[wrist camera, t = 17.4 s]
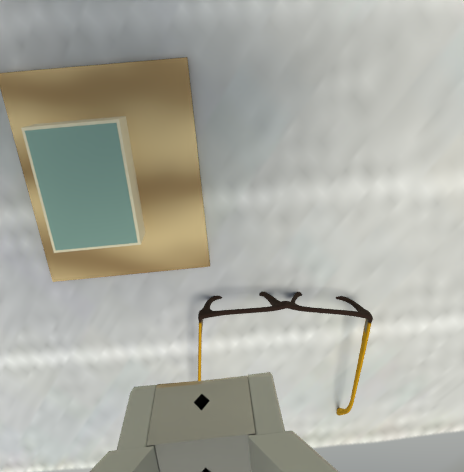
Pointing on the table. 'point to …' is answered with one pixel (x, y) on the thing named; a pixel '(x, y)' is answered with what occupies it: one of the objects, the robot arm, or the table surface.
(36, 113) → the mat
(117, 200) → the card box
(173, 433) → the robot arm
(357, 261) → the table surface
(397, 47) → the table surface
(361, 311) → the eyeglasses
